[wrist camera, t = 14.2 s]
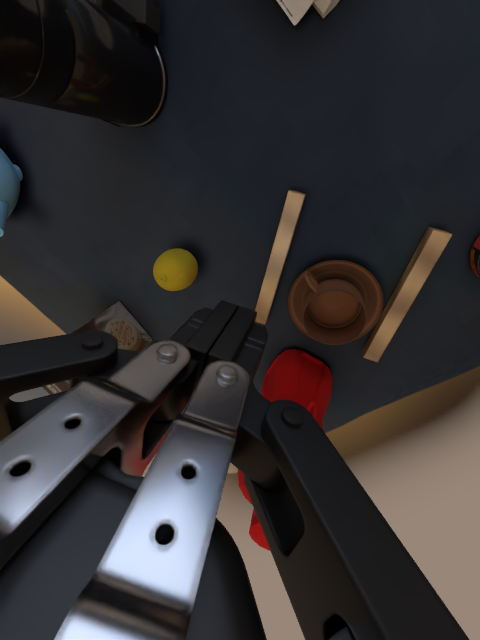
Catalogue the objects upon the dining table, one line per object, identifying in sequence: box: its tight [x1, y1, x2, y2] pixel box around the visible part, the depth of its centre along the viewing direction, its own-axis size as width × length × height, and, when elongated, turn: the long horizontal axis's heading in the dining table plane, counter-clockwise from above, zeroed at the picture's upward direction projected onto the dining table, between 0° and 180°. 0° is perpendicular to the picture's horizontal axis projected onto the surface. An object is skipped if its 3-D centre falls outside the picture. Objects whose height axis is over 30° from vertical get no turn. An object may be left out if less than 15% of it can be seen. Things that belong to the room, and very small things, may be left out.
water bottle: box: [238, 349, 332, 551], centre depth 36 cm, size 9×11×25 cm
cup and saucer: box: [288, 260, 383, 345], centre depth 37 cm, size 12×12×6 cm
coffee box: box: [42, 301, 152, 395], centre depth 46 cm, size 9×6×16 cm
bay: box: [255, 190, 452, 362], centre depth 38 cm, size 18×18×2 cm
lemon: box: [153, 248, 198, 291], centre depth 40 cm, size 6×6×8 cm
